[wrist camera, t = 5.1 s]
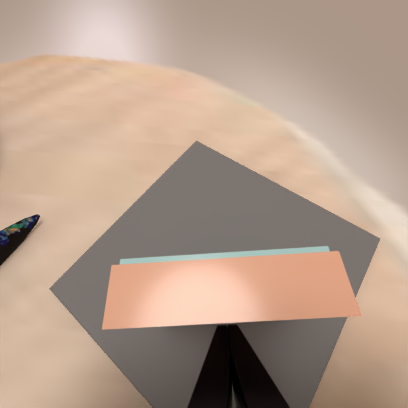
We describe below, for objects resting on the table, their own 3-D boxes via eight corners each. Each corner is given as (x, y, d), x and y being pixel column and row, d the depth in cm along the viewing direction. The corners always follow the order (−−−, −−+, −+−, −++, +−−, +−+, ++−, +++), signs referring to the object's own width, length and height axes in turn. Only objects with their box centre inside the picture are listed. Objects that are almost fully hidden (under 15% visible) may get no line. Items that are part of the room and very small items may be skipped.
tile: (283, 317, 14) (361, 315, 7) (165, 323, 15) (101, 329, 7) (276, 281, 16) (336, 243, 8) (166, 288, 16) (112, 258, 8)
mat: (376, 240, 17) (380, 238, 16) (256, 519, 11) (257, 527, 10) (196, 144, 23) (196, 140, 22) (53, 289, 17) (49, 288, 16)
